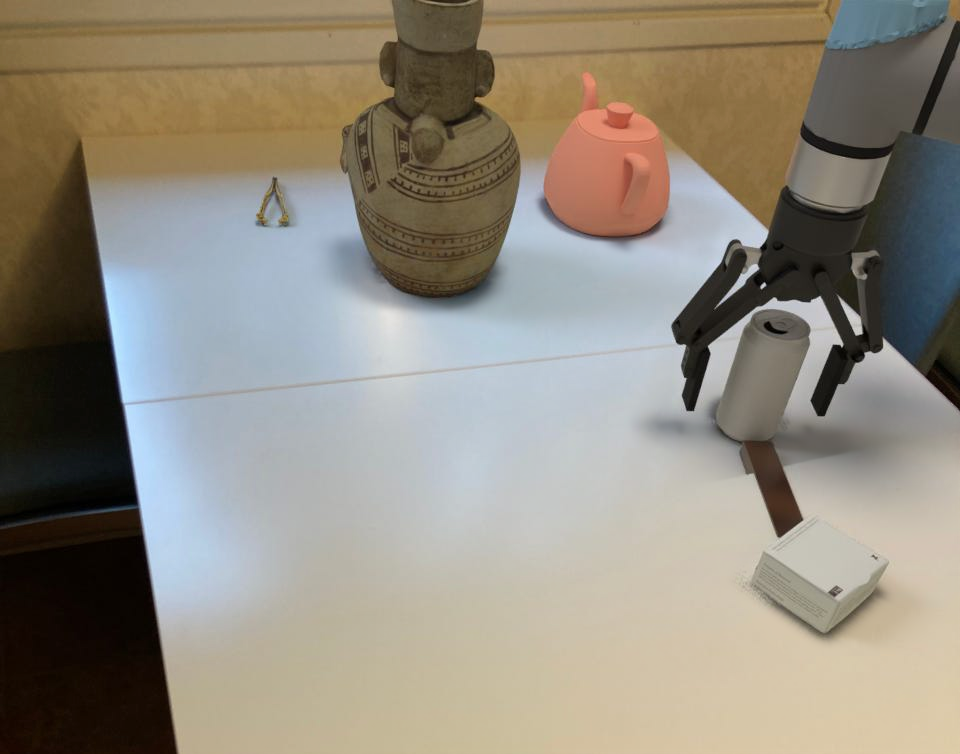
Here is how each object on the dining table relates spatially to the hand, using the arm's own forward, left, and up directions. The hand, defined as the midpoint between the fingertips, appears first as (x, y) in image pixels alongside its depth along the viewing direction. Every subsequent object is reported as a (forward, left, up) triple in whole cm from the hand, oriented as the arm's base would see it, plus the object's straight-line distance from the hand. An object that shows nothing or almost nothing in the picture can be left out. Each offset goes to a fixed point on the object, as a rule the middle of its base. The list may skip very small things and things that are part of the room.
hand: (752, 406), depth 94 cm
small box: (-23, +8, -3) cm, 24 cm away
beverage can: (0, 0, -3) cm, 3 cm away
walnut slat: (-10, +4, -3) cm, 11 cm away
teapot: (+49, -8, -3) cm, 50 cm away
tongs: (+60, +35, -3) cm, 70 cm away
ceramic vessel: (+38, +21, -3) cm, 44 cm away
